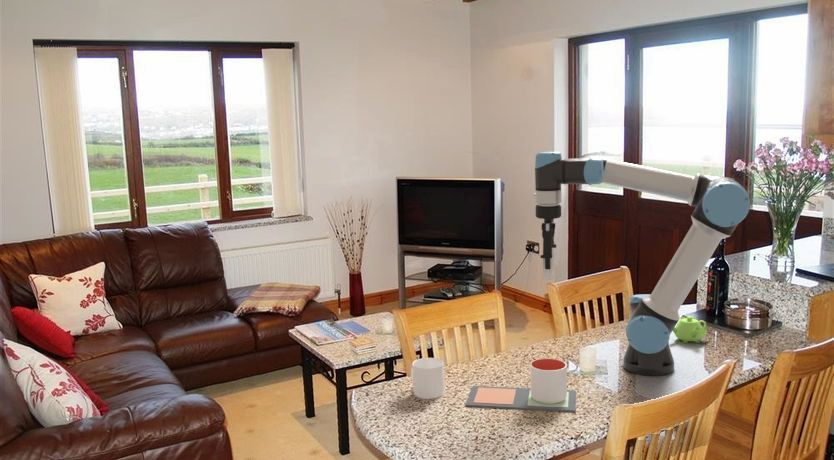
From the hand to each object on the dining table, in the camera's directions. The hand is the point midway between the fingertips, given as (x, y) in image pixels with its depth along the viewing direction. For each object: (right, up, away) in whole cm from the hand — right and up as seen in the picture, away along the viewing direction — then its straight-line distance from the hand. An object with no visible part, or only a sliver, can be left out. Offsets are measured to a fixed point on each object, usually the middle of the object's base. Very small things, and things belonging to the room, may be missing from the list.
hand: (548, 274), depth 219 cm
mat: (-10, -35, -12) cm, 38 cm away
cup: (-3, -34, -14) cm, 37 cm away
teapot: (+53, -25, +32) cm, 67 cm away
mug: (-37, -35, -4) cm, 51 cm away
